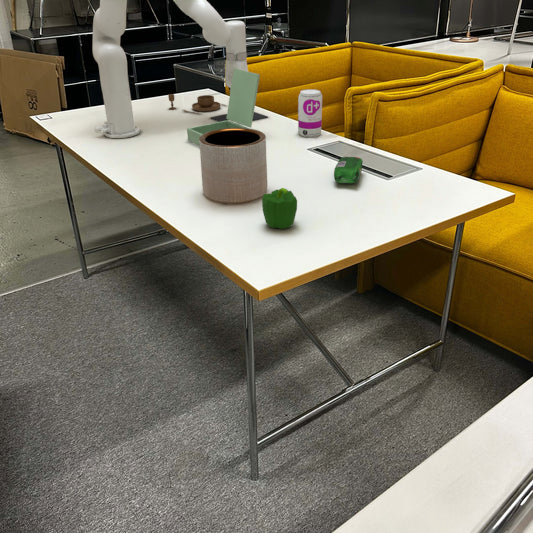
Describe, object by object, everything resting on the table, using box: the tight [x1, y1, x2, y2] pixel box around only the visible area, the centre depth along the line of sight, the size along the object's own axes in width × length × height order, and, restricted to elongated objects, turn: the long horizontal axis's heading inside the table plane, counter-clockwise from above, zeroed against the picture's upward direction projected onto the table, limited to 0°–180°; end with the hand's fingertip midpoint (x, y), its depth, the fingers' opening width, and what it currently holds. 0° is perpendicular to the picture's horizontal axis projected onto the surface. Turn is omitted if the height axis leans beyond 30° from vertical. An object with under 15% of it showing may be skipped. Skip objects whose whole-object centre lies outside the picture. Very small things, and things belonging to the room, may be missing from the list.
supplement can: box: [297, 88, 323, 138], centre depth 196 cm, size 8×8×15 cm
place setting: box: [167, 93, 227, 115], centre depth 235 cm, size 18×20×6 cm
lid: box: [226, 68, 261, 129], centre depth 192 cm, size 17×15×1 cm
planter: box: [199, 127, 268, 204], centre depth 149 cm, size 18×18×16 cm
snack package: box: [333, 156, 364, 185], centre depth 159 cm, size 7×16×5 cm, turn 165°
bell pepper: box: [261, 187, 298, 230], centre depth 132 cm, size 8×8×10 cm
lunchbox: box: [186, 120, 250, 146], centre depth 192 cm, size 17×15×5 cm
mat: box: [210, 111, 269, 122], centre depth 220 cm, size 18×14×1 cm
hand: (238, 105), depth 218 cm, fingers closed on block, 4 cm apart
